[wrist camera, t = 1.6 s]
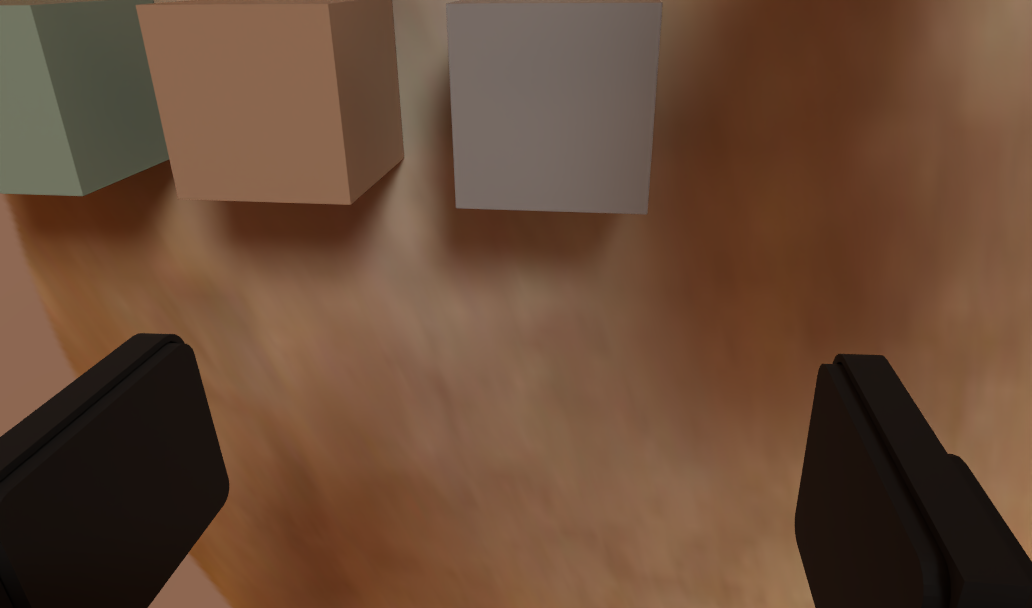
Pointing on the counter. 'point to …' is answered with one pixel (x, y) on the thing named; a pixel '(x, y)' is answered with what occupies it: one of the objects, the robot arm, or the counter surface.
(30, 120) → the green open box
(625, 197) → the grey open box
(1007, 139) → the counter surface
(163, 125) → the tan cardboard-coloured box
